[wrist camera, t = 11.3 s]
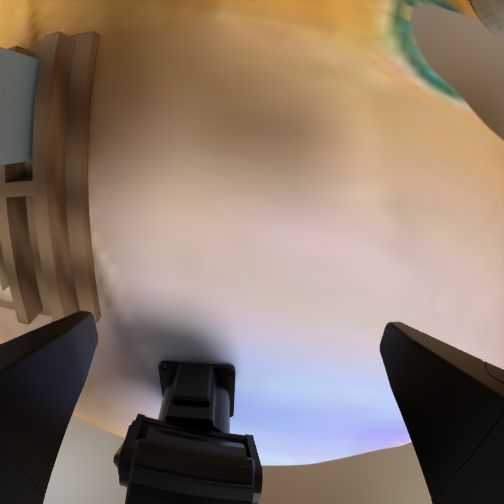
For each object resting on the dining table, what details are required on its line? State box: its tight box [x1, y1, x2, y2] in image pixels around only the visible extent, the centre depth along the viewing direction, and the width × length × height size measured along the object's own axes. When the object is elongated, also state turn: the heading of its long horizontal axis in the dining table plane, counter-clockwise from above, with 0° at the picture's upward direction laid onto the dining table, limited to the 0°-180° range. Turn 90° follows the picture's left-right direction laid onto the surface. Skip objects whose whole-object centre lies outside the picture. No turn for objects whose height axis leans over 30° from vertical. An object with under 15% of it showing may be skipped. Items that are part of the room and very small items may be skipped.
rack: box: [0, 31, 101, 324], centre depth 17 cm, size 22×14×4 cm, turn 176°
